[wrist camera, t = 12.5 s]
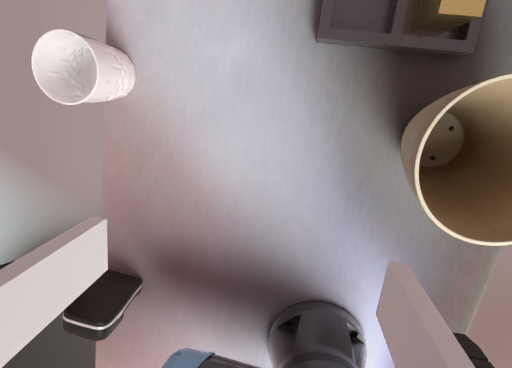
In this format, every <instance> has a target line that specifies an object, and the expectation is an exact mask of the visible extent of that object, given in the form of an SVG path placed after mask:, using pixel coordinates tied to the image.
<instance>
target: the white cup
mask: <svg viewBox="0 0 512 368" xmlns="http://www.w3.org/2000/svg"><path fill="white" fill-rule="evenodd" d="M31 64H32V71H33V75H34V77H35V80H36V82H37V84H38V85H39V87H40V88H41V90H42V91H43V92H44V93H45V94H46V95H47V96H48V97H50V98H51V99H52V100H54V101H56V102H59V103H61V104H66V105H75V104H84V103H94V102H101V101H108V100H113V99H119V98H122V97H124V96H127V95H128V93H129V92H130V91H131V90H132V89H133V87H134V83H135V79H136V75H135V69H134V65H133V63H132V62H131V60H130V59H129V57H128V56H127V55H126V54H124V53H123V52H121V51H120V50H118V49H116V48H113V47H111V46H109V45H107V44H104V43H102V42H99V41H97V40H94V39H91V38H89V37H86V36H83V35H80V34H78V33H75V32H72V31H69V30H65V29H55V30H51V31H48V32H47V33H45V34H43V35H42V36H41V37H40V38H39V39H38V41H37V42H36V44H35V46H34V48H33V52H32V59H31Z"/></svg>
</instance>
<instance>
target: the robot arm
mask: <svg viewBox="0 0 512 368" xmlns="http://www.w3.org/2000/svg"><path fill="white" fill-rule="evenodd" d="M107 270H108V247H107V218H102V217H96V216H91V217H89V218H87V219H86V220H84V221H82V222H80V223H79V224H77V225H75V226H74V227H72V228H70V229H69V230H67V231H65V232H63V233H62V234H60V235H58V236H57V237H55V238H53V239H52V240H50V241H48V242H46V243H45V244H43V245H42V246H40V247H38V248H36V249H35V250H33V251H31V252H30V253H28V254H26V255H24V256H23V257H21V258H19V259H17V260H16V261H12V262H9V263H6V264H3V265H0V368H2V367H3V366H4V365H5V364H6V363H7V362H8V361H9V360H10V359H11V358H12V357H14V356H15V355H16V354H17V353H18V352H19V351H20V350H21V349H22V348H23V347H24V346H25V345H26V344H28V343H29V342H30V341H31V340H32V339H33V338H34V337H35V336H36V335H37V334H38V333H39V332H41V331H42V330H43V329H44V328H45V327H46V326H47V325H48V324H49V323H50V322H51V321H52V320H54V319H55V318H56V317H57V316H58V315H59V314H60V313H61V312H62V311H63V310H64V309H66V308H67V307H68V306H69V305H70V304H71V303H72V302H73V301H74V300H75V299H76V298H77V297H79V296H80V295H81V294H82V293H83V292H84V291H85V290H86V289H87V288H88V287H89V286H91V285H92V284H93V283H94V282H95V281H96V280H97V279H98V278H99V277H100V276H101V275H102V274H104V273H105V272H106V271H107ZM376 316H377V318H378V321H379V324H380V326H381V329H382V332H383V335H384V337H385V340H386V343H387V346H388V348H389V351H390V354H391V357H392V359H393V362H394V365H395V367H396V368H494V367H493V366H492V364H491V363H490V362H488V359H487V357H486V356H485V355H484V353H483V352H482V350H481V349H480V348H479V346H477V345H476V344H475V343H474V342H473V341H472V340H470V339H469V338H468V337H467V336H466V335H464V334H459V333H453V332H451V330H450V329H449V327H448V326H447V324H446V323H445V321H444V319H443V318H442V316H441V315H440V313H439V312H438V310H437V309H436V307H435V306H434V304H433V303H432V301H431V300H430V298H429V297H428V295H427V294H426V292H425V291H424V289H423V288H422V286H421V285H420V283H419V282H418V280H417V279H416V277H415V276H414V274H413V272H412V271H411V269H410V268H409V266H408V265H407V263H401V262H394V261H388V265H387V270H386V274H385V278H384V282H383V286H382V290H381V294H380V298H379V302H378V307H377V311H376ZM268 349H269V356H270V360H271V363H272V366H273V368H365V363H366V356H367V351H366V343H365V340H364V336H363V332H362V330H361V328H360V326H359V324H358V323H357V321H356V320H355V319H354V318H353V317H352V316H351V315H350V314H349V313H348V312H346V311H345V310H343V309H342V308H340V307H338V306H335V305H333V304H329V303H325V302H317V301H311V302H303V303H299V304H296V305H293V306H291V307H289V308H287V309H286V310H284V311H283V312H282V313H281V314H280V315H279V316H278V317H277V318H276V319H275V321H274V323H273V325H272V327H271V330H270V335H269V344H268ZM162 368H260V367H257V366H253V365H250V364H246V363H242V362H239V361H235V360H232V359H228V358H225V357H221V356H218V355H215V353H213V352H209V353H207V352H202V351H197V350H192V349H187V348H186V349H181V350H178V351H177V352H175V353H174V354H173V355H172V356H171V357H170V358H169V359H168V360H167V361H166V362H165V364H164V365H163V366H162Z"/></svg>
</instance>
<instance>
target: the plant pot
mask: <svg viewBox="0 0 512 368" xmlns="http://www.w3.org/2000/svg"><path fill="white" fill-rule="evenodd" d="M450 127H453V128H452V129H451V130H449V128H450ZM432 156H434V160H431V157H432ZM401 158H402V164H403V168H404V171H405V174H406V177H407V179H408V182H409V184H410V186H411V188H412V190H413V192H414V194H415V195H416V197H417V199H418V200H419V202H420V204H421V205H422V207H423V209H424V210H425V212H426V213H427V215H428V216H429V217H430V219H431V220H432V221H433V222H434V223H435V224H436V225H437V226H439V227H440V228H441V229H442V230H444V231H445V232H447V233H448V234H450V235H452V236H454V237H456V238H458V239H461V240H463V241H467V242H470V243H474V244H480V245H491V246H500V245H509V244H512V74H507V75H502V76H499V77H495V78H492V79H488V80H485V81H482V82H479V83H476V84H473V85H470V86H467V87H464V88H462V89H459V90H457V91H454V92H452V93H450V94H447V95H445V96H444V97H442V98H440V99H438V100H436V101H434V102H433V103H431V104H430V105H428V106H427V107H425V108H424V109H423V110H421V111H420V112H419V113H418V114H417V115H416V116H415V117H414V118H413V119H412V120H411V121H410V122H409V124H408V125H407V127H406V129H405V131H404V133H403V136H402V141H401Z"/></svg>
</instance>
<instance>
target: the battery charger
mask: <svg viewBox="0 0 512 368" xmlns="http://www.w3.org/2000/svg"><path fill="white" fill-rule="evenodd" d="M142 285H143V283H142V280H141V279H138V278H134V277H131V276H127V275H124V274H120V273H116V272H112V271H108V270H107V271H106V272H105V273H104V274H102V275H101V276H100V277H99V278H98V279H97V280H96V281H95V282H94V283H93V284H92V285H91V286H89V287H88V288H87V289H86V290H85V291H84V292H83V293H82V294H81V295H80V296H79V297H77V298H76V299H75V300H74V301H73V302H72V303H71V304H70V305H69V306H68V307H67V308H66V309H64V312H63V328H64V330H65V331H66V332H68V333H71V334H74V335H77V336H80V337H84V338H87V339H91V340H96V341H99V340H103V339H105V338H107V337H108V336H109V335H110V334H111V333H112V332H113V330H114V329H115V328H116V327H117V326H118V324H119V323H120V322H121V320H122V319H123V316H124V311H125V310H126V308H127V307H128V306H129V304H130V303H131V301H132V300H133V299H134V297H135V296H137V295H138V294H139V293H140V291H141V289H142Z"/></svg>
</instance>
